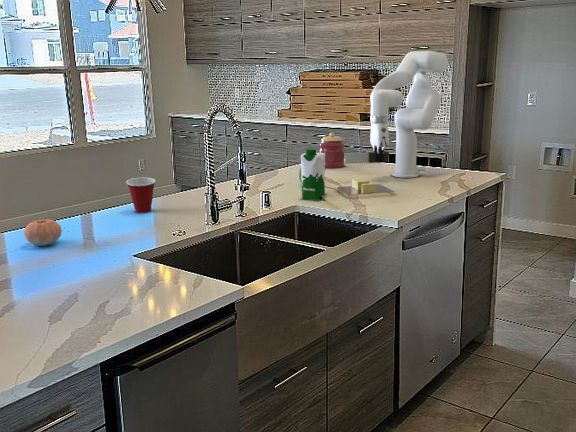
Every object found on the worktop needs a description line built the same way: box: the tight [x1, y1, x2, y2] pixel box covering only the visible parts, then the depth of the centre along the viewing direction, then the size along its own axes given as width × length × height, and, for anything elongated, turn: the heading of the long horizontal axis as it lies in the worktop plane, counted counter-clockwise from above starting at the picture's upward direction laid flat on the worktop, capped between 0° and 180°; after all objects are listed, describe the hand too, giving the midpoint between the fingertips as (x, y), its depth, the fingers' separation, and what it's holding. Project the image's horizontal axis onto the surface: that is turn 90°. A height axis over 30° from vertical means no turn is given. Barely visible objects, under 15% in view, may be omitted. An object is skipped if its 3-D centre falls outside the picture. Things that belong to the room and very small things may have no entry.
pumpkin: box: [23, 218, 63, 247], centre depth 183 cm, size 11×11×8 cm
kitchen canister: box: [319, 131, 346, 169], centre depth 306 cm, size 13×13×18 cm
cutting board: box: [335, 183, 396, 196], centre depth 245 cm, size 20×16×2 cm
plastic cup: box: [125, 176, 157, 214], centre depth 221 cm, size 11×11×12 cm
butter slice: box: [362, 182, 376, 194], centre depth 239 cm, size 5×2×4 cm, turn 105°
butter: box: [351, 177, 370, 190], centre depth 247 cm, size 5×7×4 cm
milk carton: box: [300, 148, 326, 201], centre depth 235 cm, size 9×9×20 cm
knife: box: [344, 150, 390, 165], centre depth 257 cm, size 20×2×4 cm, turn 105°
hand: (378, 161), depth 259 cm, fingers closed on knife, 2 cm apart
